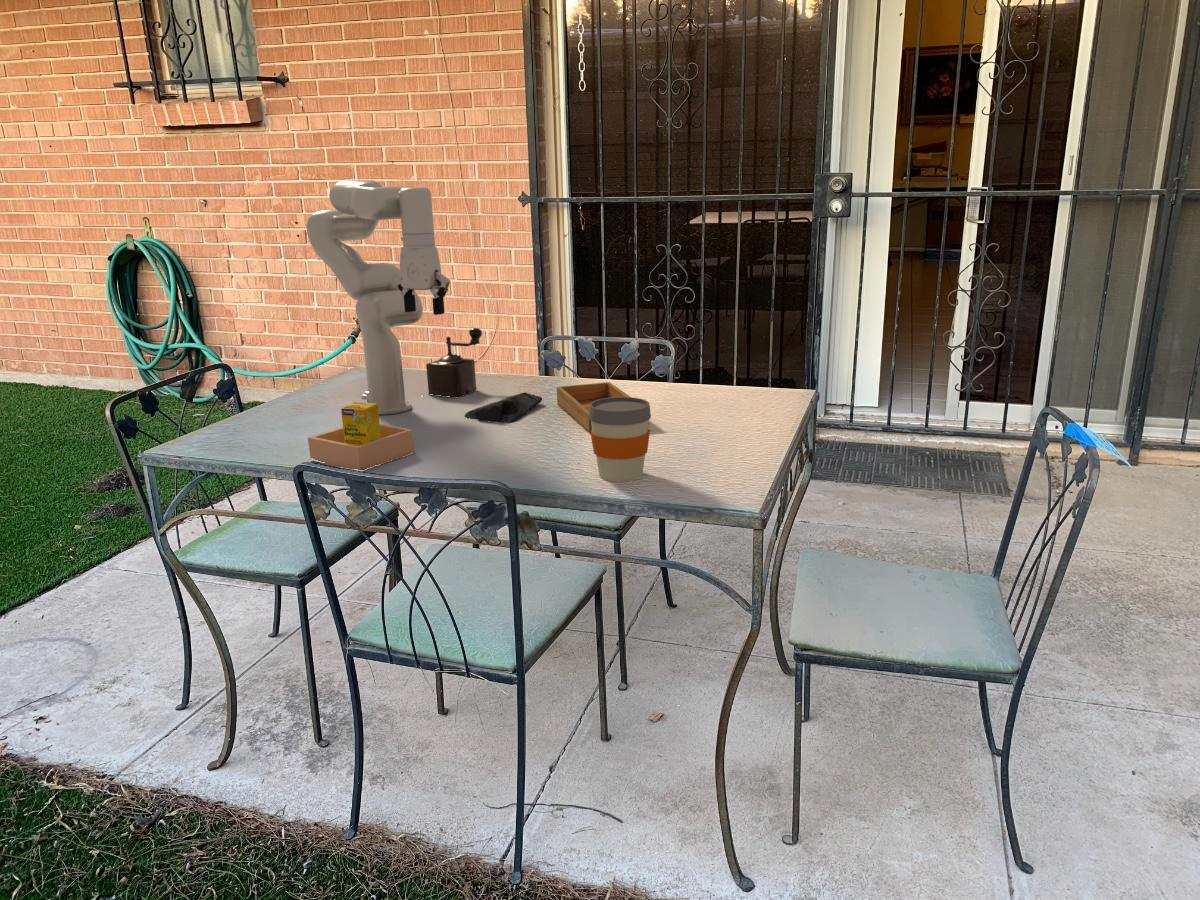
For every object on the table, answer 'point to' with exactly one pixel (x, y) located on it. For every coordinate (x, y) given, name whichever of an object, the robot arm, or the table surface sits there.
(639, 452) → the reusable coffee cup
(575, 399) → the tray
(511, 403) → the dark slate chunk
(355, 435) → the supplement box
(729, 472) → the table surface
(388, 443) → the planter box
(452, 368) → the manual coffee grinder
